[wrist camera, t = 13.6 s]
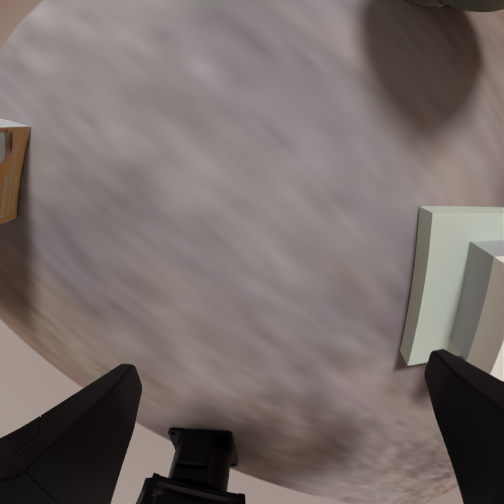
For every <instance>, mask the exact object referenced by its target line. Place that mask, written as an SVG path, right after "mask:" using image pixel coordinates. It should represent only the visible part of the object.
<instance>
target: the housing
mask: <svg viewBox="0 0 504 504" xmlns="http://www.w3.org/2000/svg"><path fill="white" fill-rule="evenodd" d="M450 341H451V342H452V343H453V345H454V346H455V347H456V349H457V350H458V351H459V353H460V354H461V355H462V357H463V358H464V359H465V361H467V362H469V363H470V364H472V365H474V366H476V367H478V368H479V369H481V370H483V371H485V372H487V373H489V374H490V375H492V376H494V377H496V378H498V379H499V380H501V381H504V240H492V241H471V242H470V244H469V251H468V258H467V264H466V270H465V275H464V281H463V286H462V291H461V295H460V300H459V305H458V309H457V313H456V317H455V321H454V325H453V329H452V333H451V336H450Z"/></svg>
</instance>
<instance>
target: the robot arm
mask: <svg viewBox="0 0 504 504" xmlns="http://www.w3.org/2000/svg"><path fill="white" fill-rule="evenodd" d="M425 380H426V383H427V387H428V391H429V394H430V398H431V402H432V406H433V410H434V413H435V417H436V420H437V423H438V425H439V428H440V431H441V434H442V436H443V439H444V442H445V445H446V448H447V451H448V454H449V457H450V460H451V463H452V466H453V469H454V472H455V475H456V479H457V482H458V485H459V489H460V492H461V496H462V499H463V503H464V504H504V382H503V381H501V380H499V379H498V378H496V377H494V376H492V375H490V374H489V373H487V372H485V371H483V370H481V369H479V368H478V367H476V366H474V365H472V364H470V363H469V362H467V361H465V360H463V359H461V358H459V357H458V356H456V355H454V354H452V353H450V352H448V351H447V350H445V349H438V350H433V351H432V352H431V353H430V356H429V359H428V363H427V366H426V369H425ZM141 393H142V384H141V381H140V378H139V376H138V373H137V370H136V367H135V366H134V365H132V364H120V365H119V366H117V367H116V368H114V369H113V370H111V371H110V372H108V373H107V374H105V375H103V376H102V377H100V378H99V379H97V380H96V381H94V382H93V383H91V384H90V385H88V386H86V387H85V388H83V389H82V390H80V391H79V392H77V393H76V394H74V395H72V396H71V397H69V398H68V399H66V400H65V401H63V402H62V403H60V404H58V405H57V406H55V407H54V408H52V409H50V410H49V411H47V412H46V413H44V414H42V415H41V417H40V416H39V417H38V418H36V419H34V420H33V421H31V422H29V423H28V424H26V425H25V426H23V427H21V428H19V429H17V430H16V431H14V432H12V433H10V434H8V435H6V436H4V437H2V438H0V504H111V500H112V497H113V493H114V490H115V487H116V484H117V480H118V477H119V474H120V470H121V467H122V464H123V461H124V458H125V455H126V452H127V448H128V446H129V442H130V440H131V437H132V433H133V430H134V425H135V421H136V416H137V411H138V407H139V402H140V397H141ZM168 433H169V436H170V438H171V441H172V443H173V445H174V447H175V450H176V451H175V454H174V458H173V462H172V466H171V469H170V473H169V476H168V478H166V477H163V476H160V475H159V474H156V473H154V474H153V476H152V477H151V478H146V479H145V482H144V485H143V488H142V491H141V493H140V495H139V498H138V500H137V502H136V504H245V494H241V493H239V494H236V493H230V492H227V487H228V486H227V485H228V478H229V470H230V467H236V466H238V459H237V454H236V449H235V444H234V438H233V434H232V432H230V431H215V430H197V429H183V428H169V431H168Z"/></svg>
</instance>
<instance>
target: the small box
mask: <svg viewBox="0 0 504 504" xmlns="http://www.w3.org/2000/svg"><path fill="white" fill-rule="evenodd" d="M29 133H30V126H27V125H24V124H20V123H16V122H12V121H8V120H4V119H0V225H1V224H3V223H6V222H8V221H11V220H13V219H15V218H16V216H17V200H18V192H19V184H20V177H21V171H22V165H23V160H24V154H25V149H26V144H27V140H28V137H29Z"/></svg>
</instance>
